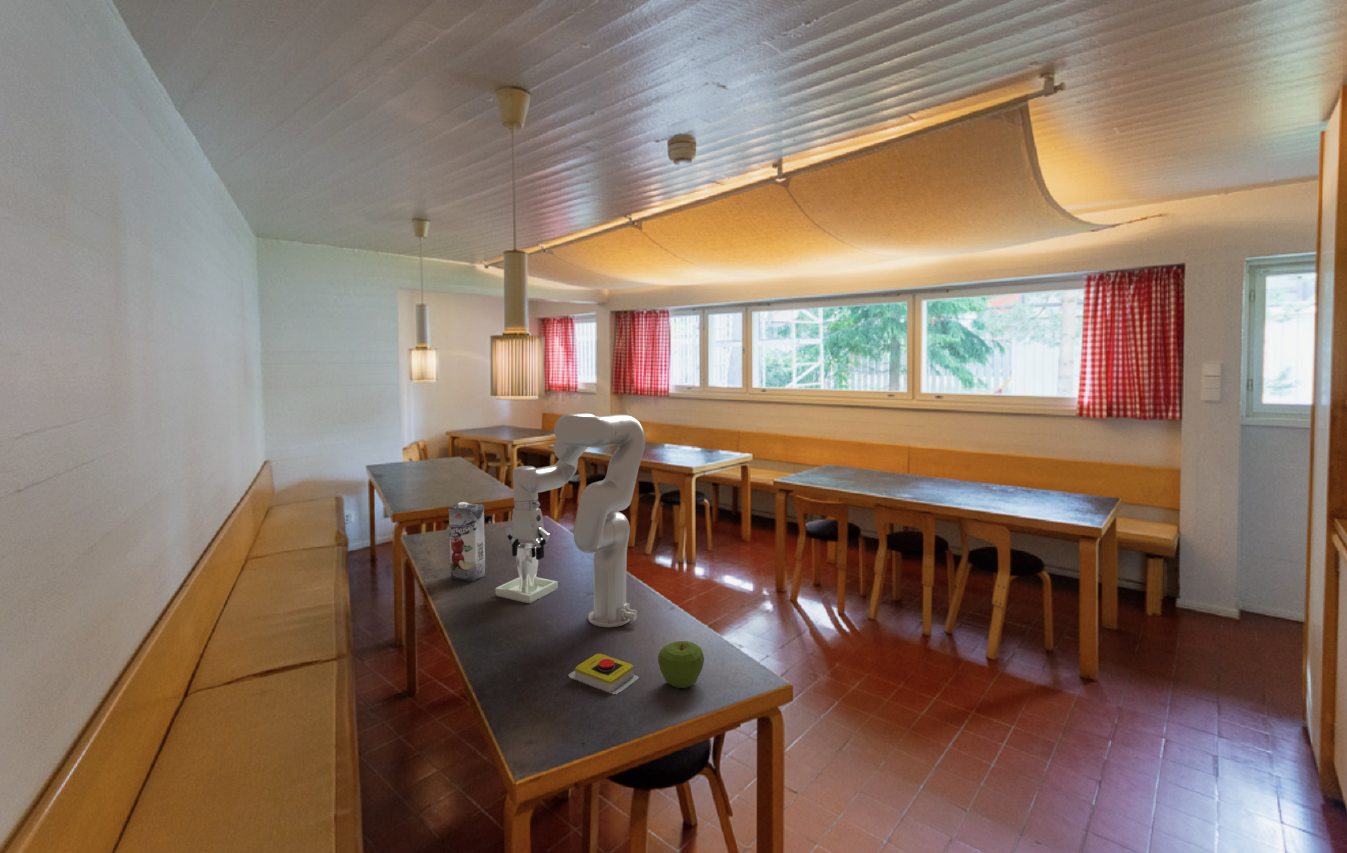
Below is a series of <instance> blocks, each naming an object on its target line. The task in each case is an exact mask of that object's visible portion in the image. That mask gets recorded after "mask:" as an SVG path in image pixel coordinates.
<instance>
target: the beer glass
mask: <svg viewBox="0 0 1347 853" xmlns="http://www.w3.org/2000/svg"><path fill="white" fill-rule="evenodd" d="M536 547H537V545H536V544H535V542H523V543H520V544H519V545H518V546H517V555H516V556H515V557H516V567H517V572H518V577H519V580H520V583H519V590H518V591H519V592H522V593H526V594H531V593H533V592H535V591H537V590H538V588H537V583H536V577H537V575H538V574H537V573H538V569H539V568H538V567H539V560H540V559H539V560H537V559H536Z"/></svg>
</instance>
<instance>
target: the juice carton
mask: <svg viewBox="0 0 1347 853" xmlns="http://www.w3.org/2000/svg"><path fill="white" fill-rule="evenodd" d="M484 512H485V504H483V503H482V504H481V503H479V504H477V503H475V504H474V503H468V502H466V501H462V502H458V503H457V504H453V505H451V506H449V507H448V525H449V528H448V529H449V530H448V531H449V532H448V533H449V559H450V560H449V561H450V562H449V563H450V564H449V565H450V578H451V579H452V580H455V581H461V582H462V581H463V582H468V583H472V582H473V583H474V582H475V581H476V579H477V580H479V579H480V578H482V577H484V576H485V575H486V574H485V573H486V572H485V571H486V548H485V547H486V546H485V545H486V544H485V542H486V541H485V540H486V539H485V513H484ZM478 578H479V579H478Z"/></svg>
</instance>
